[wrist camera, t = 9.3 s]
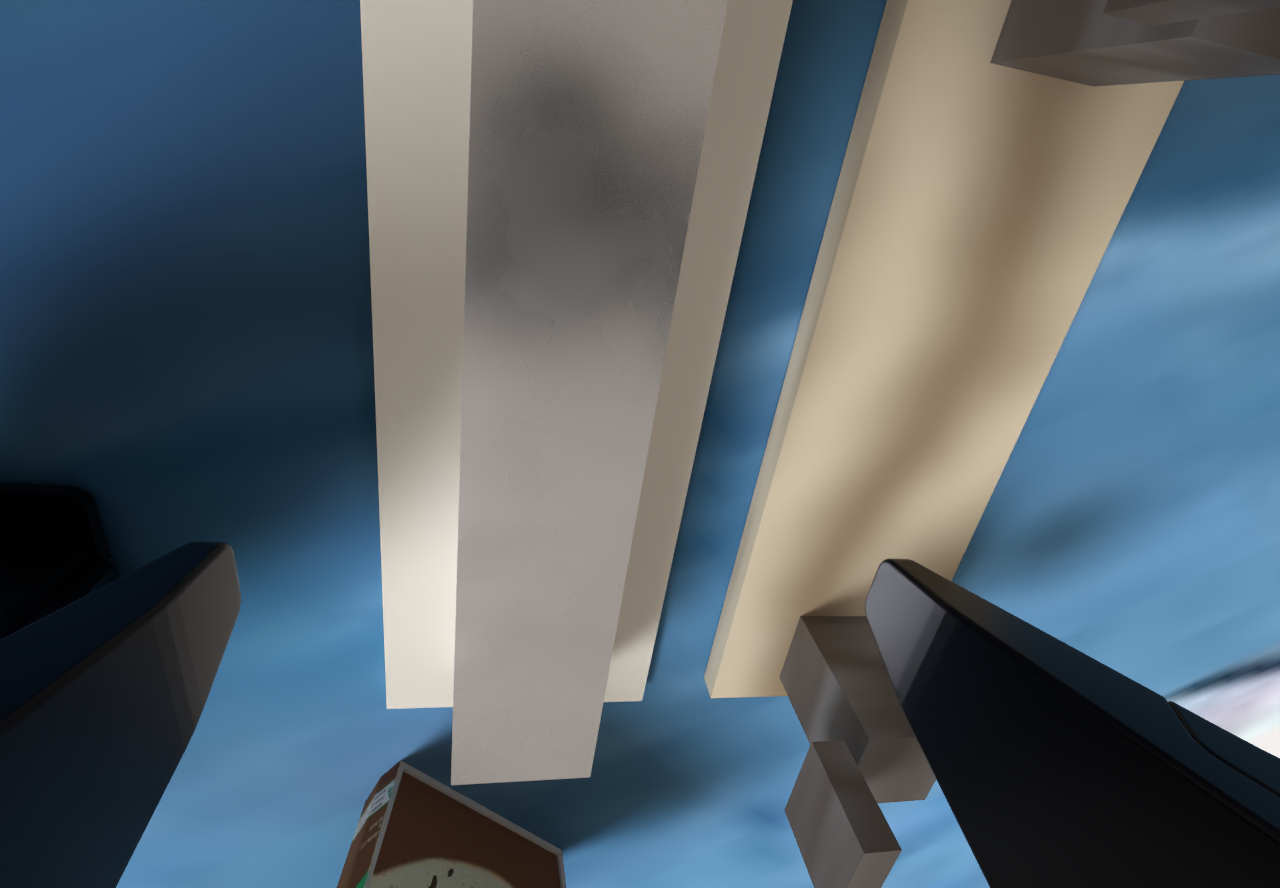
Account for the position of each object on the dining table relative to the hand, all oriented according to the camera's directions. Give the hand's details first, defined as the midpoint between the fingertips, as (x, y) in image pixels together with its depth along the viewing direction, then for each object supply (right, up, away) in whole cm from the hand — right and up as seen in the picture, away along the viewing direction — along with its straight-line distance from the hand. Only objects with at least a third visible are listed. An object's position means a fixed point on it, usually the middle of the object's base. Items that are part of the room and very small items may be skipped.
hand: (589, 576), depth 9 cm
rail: (-2, +4, +8) cm, 9 cm away
